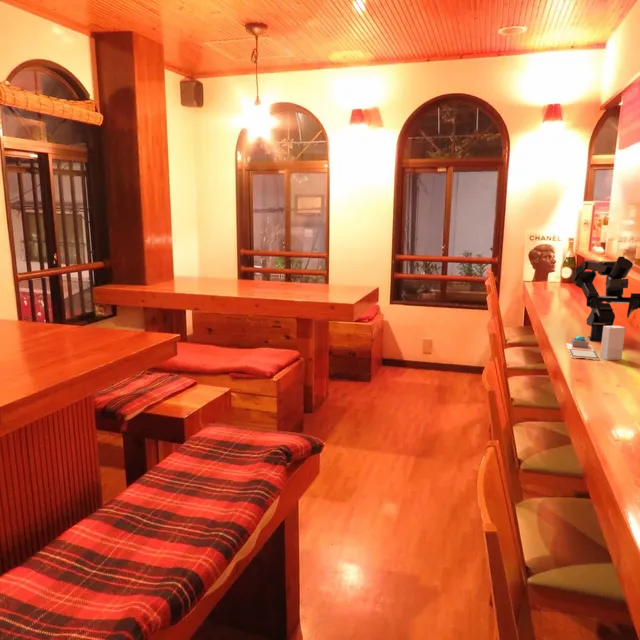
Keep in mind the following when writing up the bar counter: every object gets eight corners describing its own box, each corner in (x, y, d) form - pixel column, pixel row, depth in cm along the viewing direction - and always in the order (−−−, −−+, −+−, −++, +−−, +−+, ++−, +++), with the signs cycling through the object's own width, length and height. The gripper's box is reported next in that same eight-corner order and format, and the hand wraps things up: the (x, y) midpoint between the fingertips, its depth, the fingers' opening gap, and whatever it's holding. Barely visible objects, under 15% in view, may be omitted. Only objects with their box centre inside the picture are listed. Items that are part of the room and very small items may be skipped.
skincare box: (614, 356, 202) (618, 324, 199) (622, 360, 197) (626, 327, 195) (598, 357, 201) (602, 325, 199) (606, 360, 197) (610, 327, 194)
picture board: (565, 345, 218) (566, 337, 218) (590, 347, 216) (591, 339, 215) (571, 358, 200) (572, 349, 199) (598, 360, 197) (599, 351, 196)
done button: (575, 341, 216) (575, 335, 215) (583, 342, 215) (583, 336, 214) (575, 343, 213) (576, 337, 212) (584, 344, 212) (585, 338, 211)
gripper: (588, 271, 210) (586, 301, 202) (644, 271, 202) (644, 302, 193) (587, 291, 218) (585, 320, 209) (641, 292, 210) (641, 323, 201)
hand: (613, 316), depth 203 cm, fingers open, 9 cm apart
